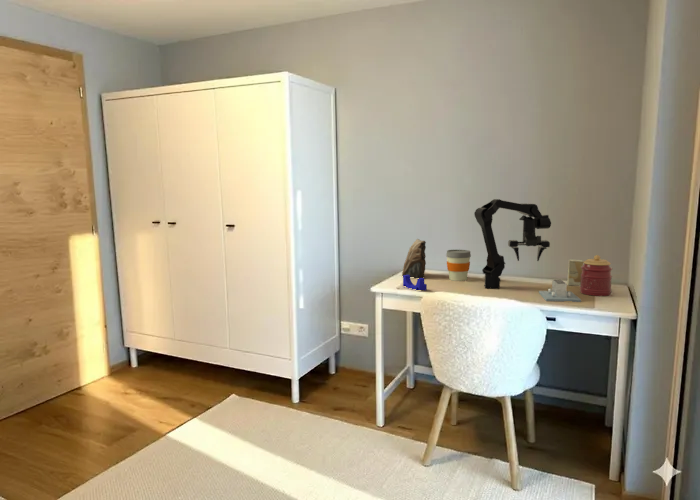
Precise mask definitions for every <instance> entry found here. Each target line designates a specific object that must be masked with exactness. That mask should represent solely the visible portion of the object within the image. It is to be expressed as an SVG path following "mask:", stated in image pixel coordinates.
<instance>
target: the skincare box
mask: <svg viewBox="0 0 700 500" xmlns="http://www.w3.org/2000/svg"><path fill="white" fill-rule="evenodd" d="M583 262H584V260H582V259H568V269H567V280H566V284H567V286H579V287H580V282H581V275H580V274H581V273H582V268H581V266H583V265H584V263H583Z"/></svg>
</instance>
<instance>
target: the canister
mask: <svg viewBox="0 0 700 500" xmlns="http://www.w3.org/2000/svg"><path fill="white" fill-rule="evenodd" d="M611 264H612V263H611V262H610V261H608V260H607V259H603V258H601V256H600V255H599V254H596V255H594V256H593V258H588V259H586V260H583V266H581V268H582V273H581V274H580V275H581V282H580V286H579V292H580V293H581V294H583V295H587V296H592V297H593V296H594V297H608V296H610V295H611V293H612V278H613V275H612V271H613V267H612V266H611Z"/></svg>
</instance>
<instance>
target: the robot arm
mask: <svg viewBox="0 0 700 500" xmlns="http://www.w3.org/2000/svg"><path fill="white" fill-rule="evenodd" d="M499 209H503V210H509V211H515V212H517V213H520V214H522V215H521V217H520V218H519V221H523V222H522V241H519V240H517V239H509V240H508V242H507V245H508V247H510V248H511V249H513V251H514V253H515V256H516V259H517V262H519V261H520V255H519V246H526V247H537V246H538V247H537V255H536V259H537V260H536V261H537V262H539V261H540V258H541V256H542V253H543V251H545V250H546V249H548V248H551V246H550V245H551V243H550V241H548V240H546V239H545V240H543V239H542V236H541V235H536V229H537V230H545V229H550V228H551V226H552V221H551V218H550V217H549V214H542V212H540V209H539V206H538V204H536V203H517V202H511V201H507V200H502V199H499V198H498V199H497V198H493V199H492V200H491V201H489V202H488V203H485V204H484V205H482V206H481V207H477V208H476V209H475V211H474V214H473V215H474V217H475V221H476V222H477V223H478V225H479V226H480V228H481V232H482V236H483V240H484V244H485V248H486V253H487V257H486V265H485V266H484V267H483V268H482V274H484V284H483V286H484V289H500V287H501V278H500V277H502V273H503V271H504V269H505V265H506V262H505V258H504V255H501V254H499V252H498V248H497V245H496V244H497V243H496V240H495V236H494V231H493V227H492V224H493V215H495V214H496V213H497V212H498V210H499Z"/></svg>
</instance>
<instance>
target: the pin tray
mask: <svg viewBox="0 0 700 500" xmlns="http://www.w3.org/2000/svg"><path fill="white" fill-rule="evenodd" d="M538 294H539V295H540V296H541V298H543V299H544V300H545V301H546V302H564V301H572V302H573V303H575V302H576V303H581V302H582V299H581V298H580V297H578V295H576V294H575V293H574V292H573V291H570V290H569V291H566V297H556V296H555V292H552V288H548V290H538Z"/></svg>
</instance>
